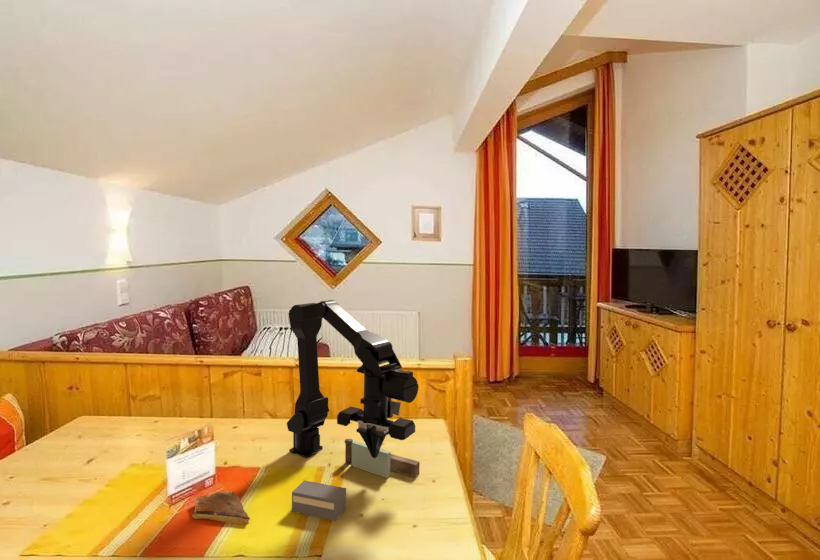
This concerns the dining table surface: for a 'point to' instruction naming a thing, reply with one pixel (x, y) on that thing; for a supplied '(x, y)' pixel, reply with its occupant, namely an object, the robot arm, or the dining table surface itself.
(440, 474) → the dining table surface
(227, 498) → the shard
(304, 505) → the grey block
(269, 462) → the dining table surface
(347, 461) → the hinge post
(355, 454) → the door
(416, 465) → the bar
